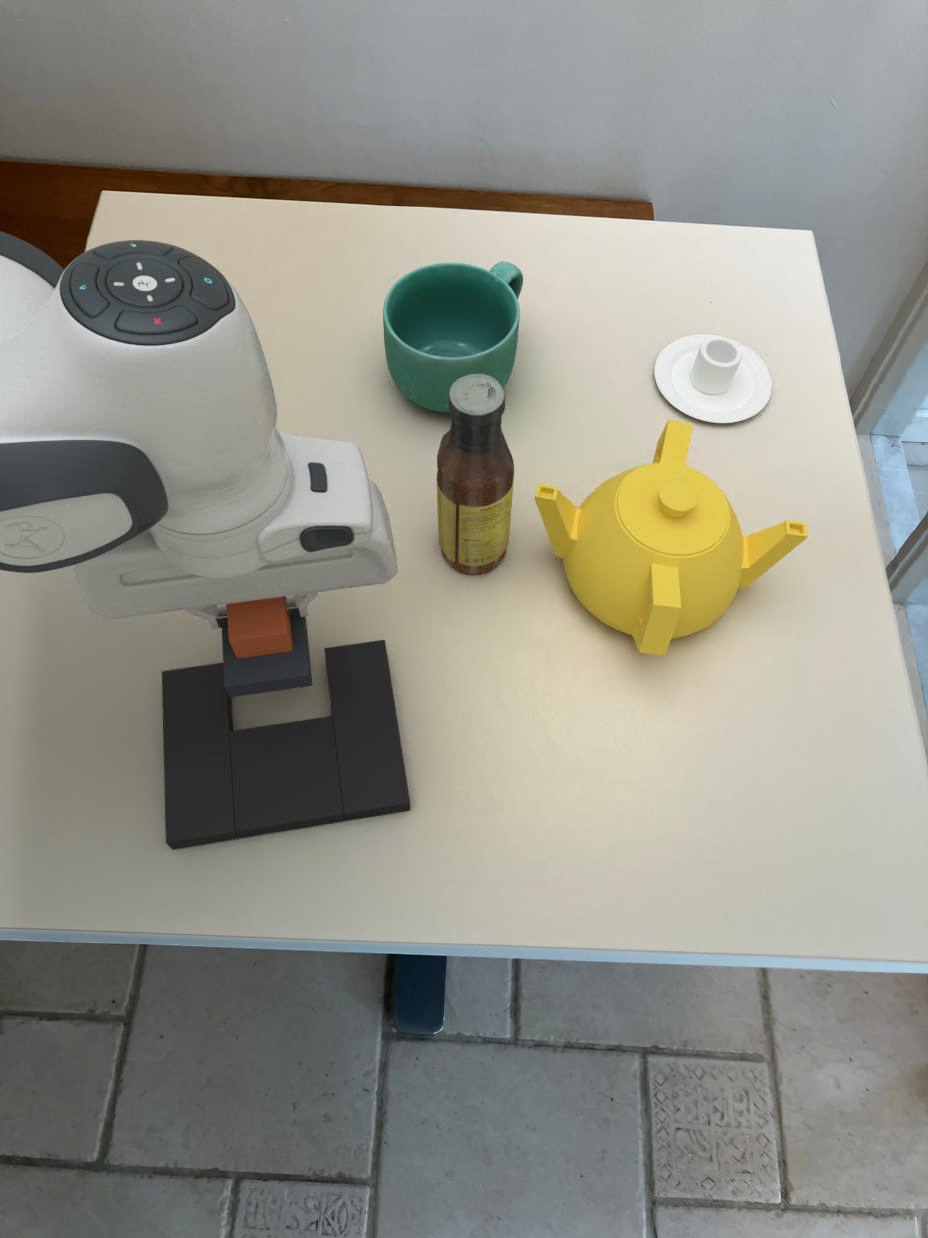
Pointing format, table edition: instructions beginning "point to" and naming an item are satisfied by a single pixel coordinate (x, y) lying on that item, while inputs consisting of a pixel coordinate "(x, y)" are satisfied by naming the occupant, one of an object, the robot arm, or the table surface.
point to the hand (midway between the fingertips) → (261, 614)
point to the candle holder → (713, 378)
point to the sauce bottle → (474, 477)
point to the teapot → (659, 546)
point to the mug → (451, 328)
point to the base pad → (281, 755)
